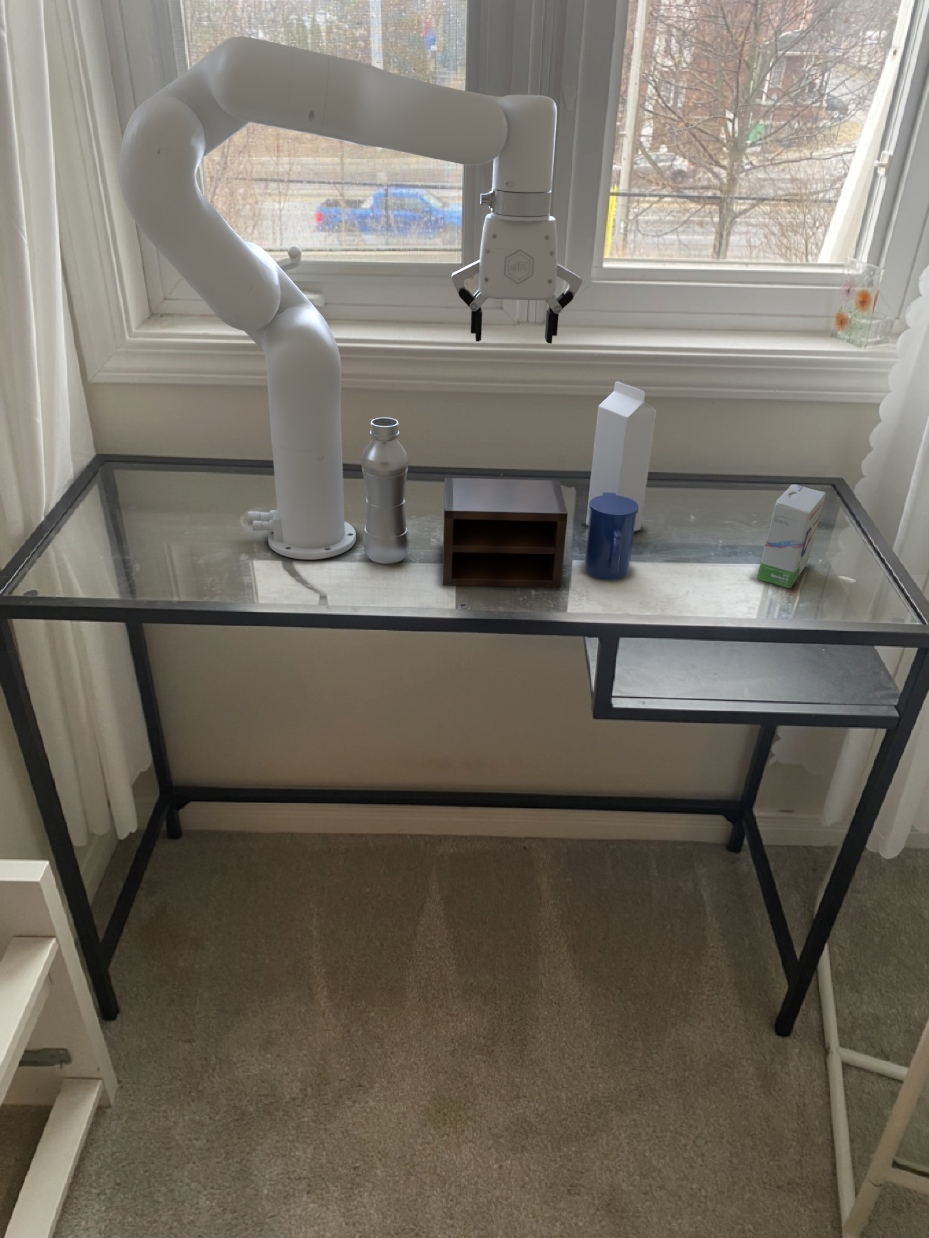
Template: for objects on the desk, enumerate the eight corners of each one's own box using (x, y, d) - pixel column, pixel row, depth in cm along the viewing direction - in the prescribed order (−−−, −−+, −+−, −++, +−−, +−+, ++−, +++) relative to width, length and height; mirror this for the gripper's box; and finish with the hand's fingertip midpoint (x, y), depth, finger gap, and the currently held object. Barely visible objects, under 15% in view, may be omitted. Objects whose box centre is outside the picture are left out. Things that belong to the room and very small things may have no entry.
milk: (612, 539, 144) (630, 395, 132) (584, 524, 148) (599, 384, 136) (641, 529, 147) (660, 388, 136) (613, 515, 151) (629, 377, 140)
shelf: (442, 585, 130) (444, 510, 124) (443, 548, 139) (444, 477, 134) (560, 587, 130) (567, 513, 125) (553, 551, 140) (559, 480, 134)
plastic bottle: (374, 573, 132) (371, 433, 122) (356, 552, 137) (351, 417, 127) (417, 564, 135) (417, 427, 125) (397, 544, 140) (396, 411, 130)
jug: (588, 589, 130) (595, 522, 125) (579, 555, 139) (585, 490, 134) (636, 590, 130) (646, 523, 125) (624, 556, 139) (632, 492, 134)
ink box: (773, 557, 140) (789, 481, 134) (808, 566, 138) (827, 490, 132) (755, 580, 134) (771, 501, 128) (792, 590, 132) (810, 511, 126)
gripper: (453, 207, 119) (450, 345, 128) (592, 211, 120) (579, 349, 129) (453, 199, 126) (449, 331, 134) (584, 203, 126) (573, 334, 135)
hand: (513, 340), depth 131 cm, fingers open, 9 cm apart
